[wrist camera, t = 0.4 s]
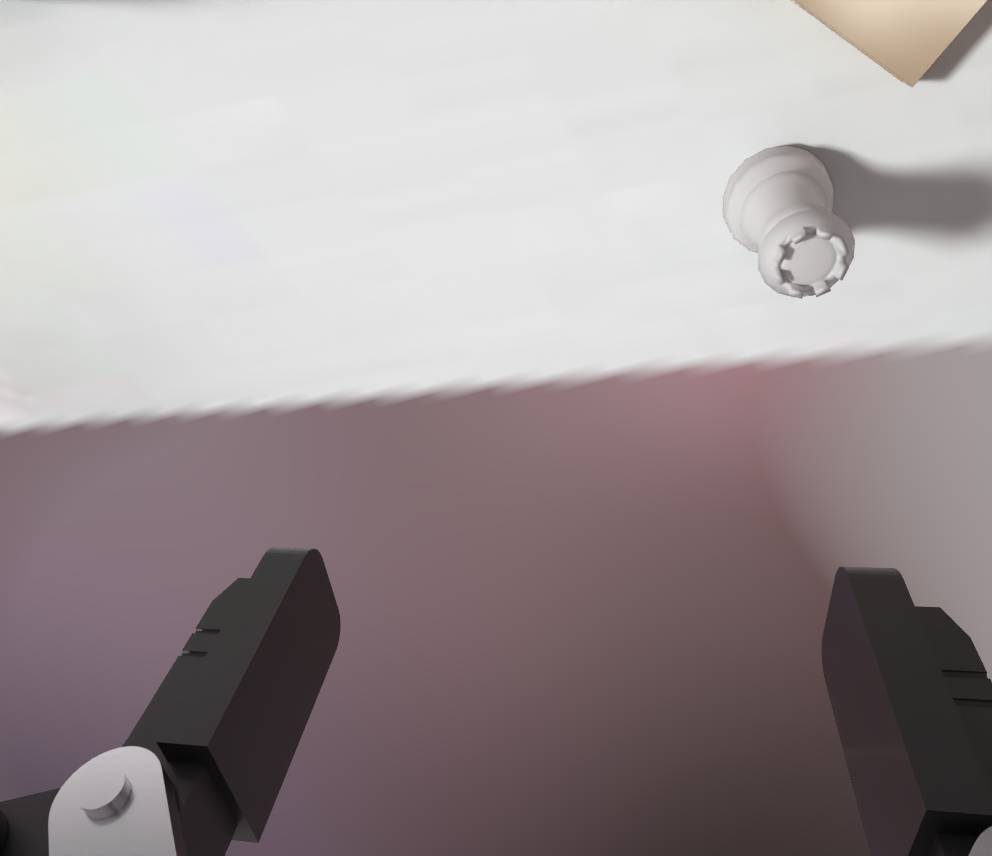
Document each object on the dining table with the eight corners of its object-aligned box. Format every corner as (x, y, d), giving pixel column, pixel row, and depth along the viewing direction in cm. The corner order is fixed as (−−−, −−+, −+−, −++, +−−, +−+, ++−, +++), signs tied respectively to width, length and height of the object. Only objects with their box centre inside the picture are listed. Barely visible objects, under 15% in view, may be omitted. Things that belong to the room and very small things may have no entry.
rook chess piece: (820, 126, 30) (872, 181, 24) (835, 227, 33) (887, 303, 26) (710, 163, 32) (731, 225, 25) (732, 258, 34) (757, 337, 27)
